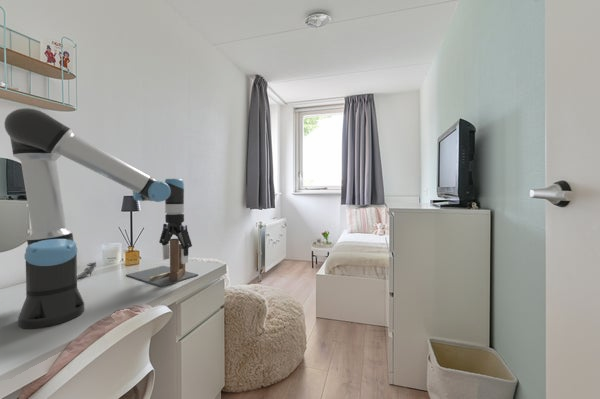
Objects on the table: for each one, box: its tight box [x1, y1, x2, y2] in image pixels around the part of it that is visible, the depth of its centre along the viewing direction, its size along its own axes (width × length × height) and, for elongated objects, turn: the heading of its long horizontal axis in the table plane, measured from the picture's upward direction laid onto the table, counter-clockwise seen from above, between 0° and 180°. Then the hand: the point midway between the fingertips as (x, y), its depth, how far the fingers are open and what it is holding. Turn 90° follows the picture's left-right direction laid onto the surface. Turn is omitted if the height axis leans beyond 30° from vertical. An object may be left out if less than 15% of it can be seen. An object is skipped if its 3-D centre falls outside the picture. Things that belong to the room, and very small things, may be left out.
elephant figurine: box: [77, 261, 97, 280], centre depth 124 cm, size 10×6×9 cm
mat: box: [125, 265, 199, 288], centre depth 125 cm, size 18×28×1 cm, turn 58°
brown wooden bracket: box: [169, 238, 186, 281], centre depth 120 cm, size 4×11×18 cm, turn 6°
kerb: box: [150, 272, 170, 281], centre depth 123 cm, size 16×1×2 cm, turn 148°
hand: (175, 261), depth 120 cm, fingers open, 13 cm apart
